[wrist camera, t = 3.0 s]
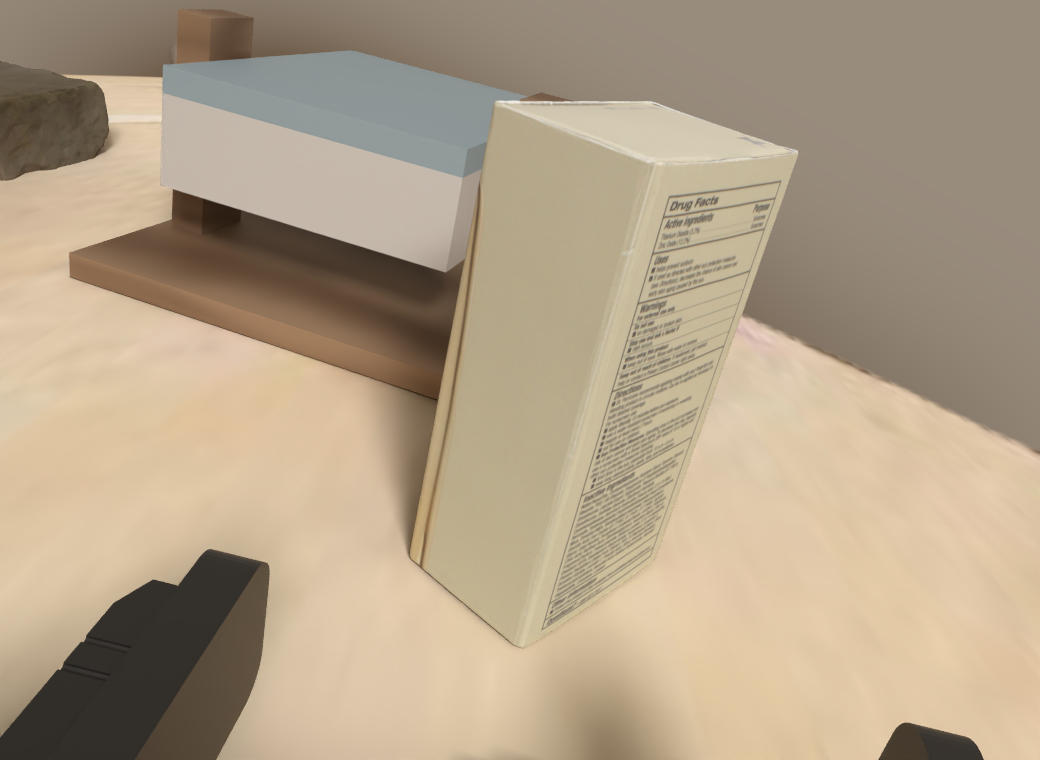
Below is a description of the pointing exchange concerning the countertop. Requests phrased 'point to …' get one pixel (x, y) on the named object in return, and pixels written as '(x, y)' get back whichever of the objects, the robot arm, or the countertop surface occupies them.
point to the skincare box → (586, 348)
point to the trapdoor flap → (333, 147)
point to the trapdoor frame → (281, 266)
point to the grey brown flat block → (47, 120)
